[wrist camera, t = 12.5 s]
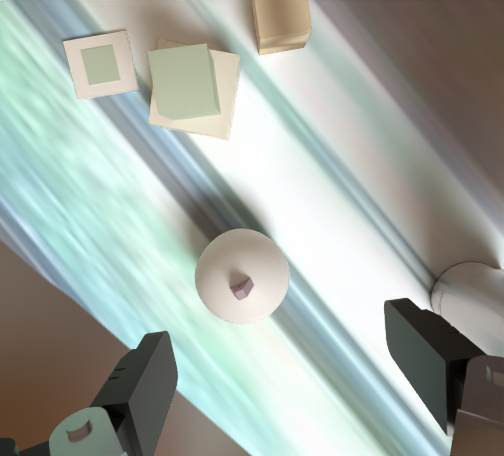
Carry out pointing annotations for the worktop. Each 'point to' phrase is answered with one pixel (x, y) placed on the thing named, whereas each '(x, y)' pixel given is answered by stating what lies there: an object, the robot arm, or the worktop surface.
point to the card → (101, 65)
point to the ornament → (242, 276)
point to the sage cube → (184, 82)
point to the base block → (227, 92)
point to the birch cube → (281, 24)
